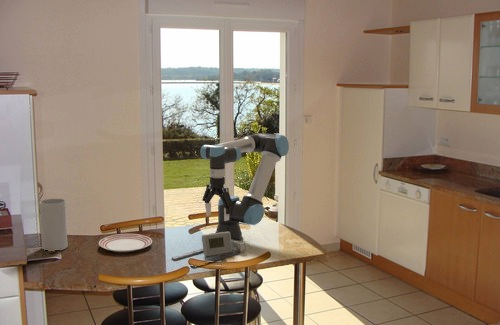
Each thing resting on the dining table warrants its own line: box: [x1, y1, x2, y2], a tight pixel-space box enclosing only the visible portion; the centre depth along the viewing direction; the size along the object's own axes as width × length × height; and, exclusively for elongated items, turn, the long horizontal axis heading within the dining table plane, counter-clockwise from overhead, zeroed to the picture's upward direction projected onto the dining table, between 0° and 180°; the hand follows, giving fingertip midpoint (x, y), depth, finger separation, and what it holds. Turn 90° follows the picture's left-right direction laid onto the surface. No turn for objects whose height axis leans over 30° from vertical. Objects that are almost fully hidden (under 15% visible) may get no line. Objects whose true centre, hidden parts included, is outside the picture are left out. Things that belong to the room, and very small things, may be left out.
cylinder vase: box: [39, 198, 68, 251], centre depth 288 cm, size 12×12×25 cm
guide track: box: [171, 239, 246, 269], centre depth 281 cm, size 17×34×5 cm, turn 136°
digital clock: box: [201, 232, 234, 257], centre depth 285 cm, size 16×9×11 cm, turn 107°
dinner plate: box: [98, 233, 153, 253], centre depth 294 cm, size 28×27×3 cm
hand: (217, 217), depth 283 cm, fingers open, 13 cm apart
